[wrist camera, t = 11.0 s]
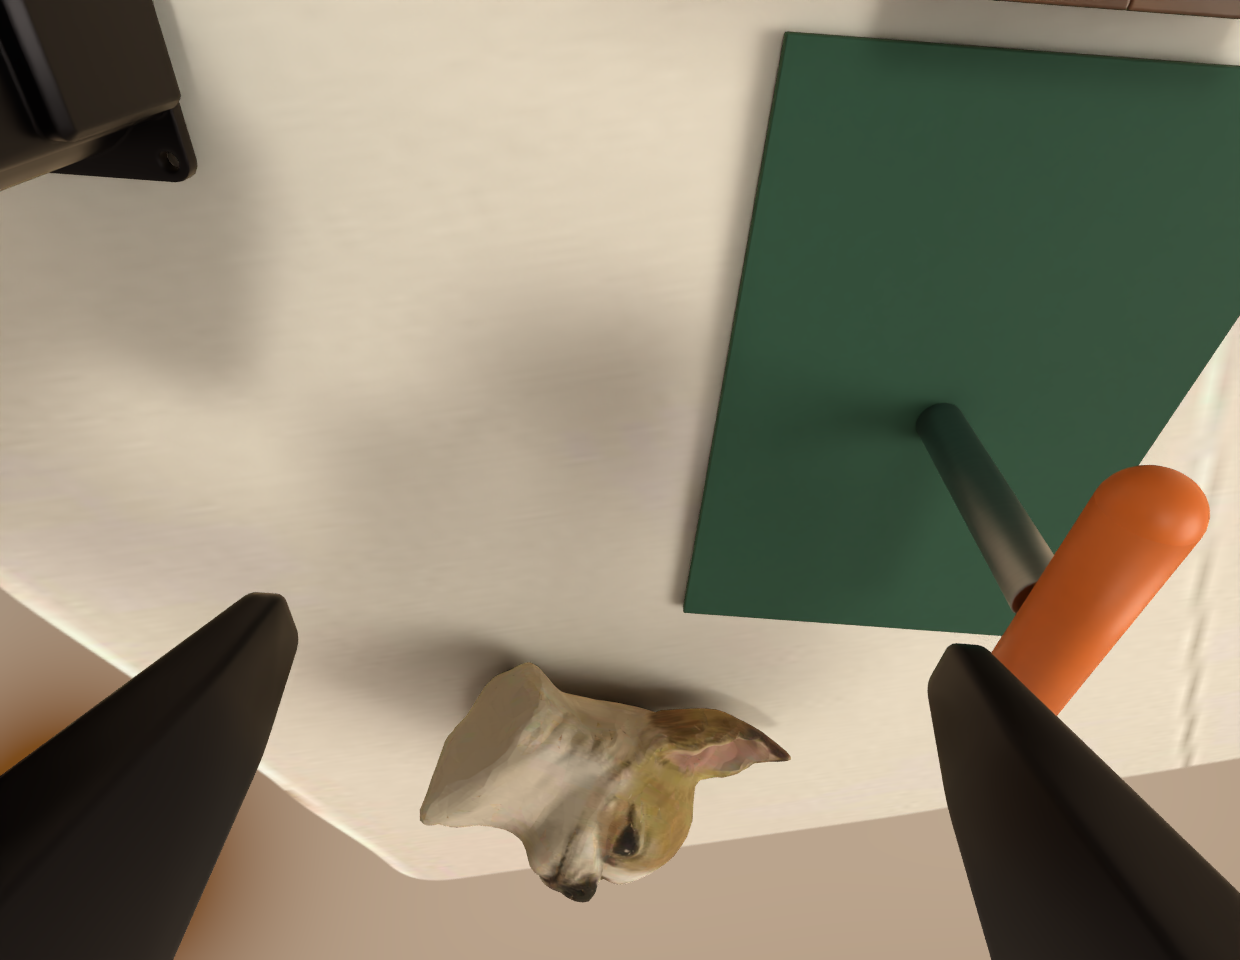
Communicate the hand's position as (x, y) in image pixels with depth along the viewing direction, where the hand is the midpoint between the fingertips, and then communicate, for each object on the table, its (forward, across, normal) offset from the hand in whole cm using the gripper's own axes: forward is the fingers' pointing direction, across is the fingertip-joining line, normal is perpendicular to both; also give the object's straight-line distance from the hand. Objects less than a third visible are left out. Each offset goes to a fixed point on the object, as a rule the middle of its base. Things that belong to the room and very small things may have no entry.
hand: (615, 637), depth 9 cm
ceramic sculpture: (+13, 0, +22) cm, 26 cm away
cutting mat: (+13, -10, +4) cm, 17 cm away
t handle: (+13, -10, +4) cm, 17 cm away
